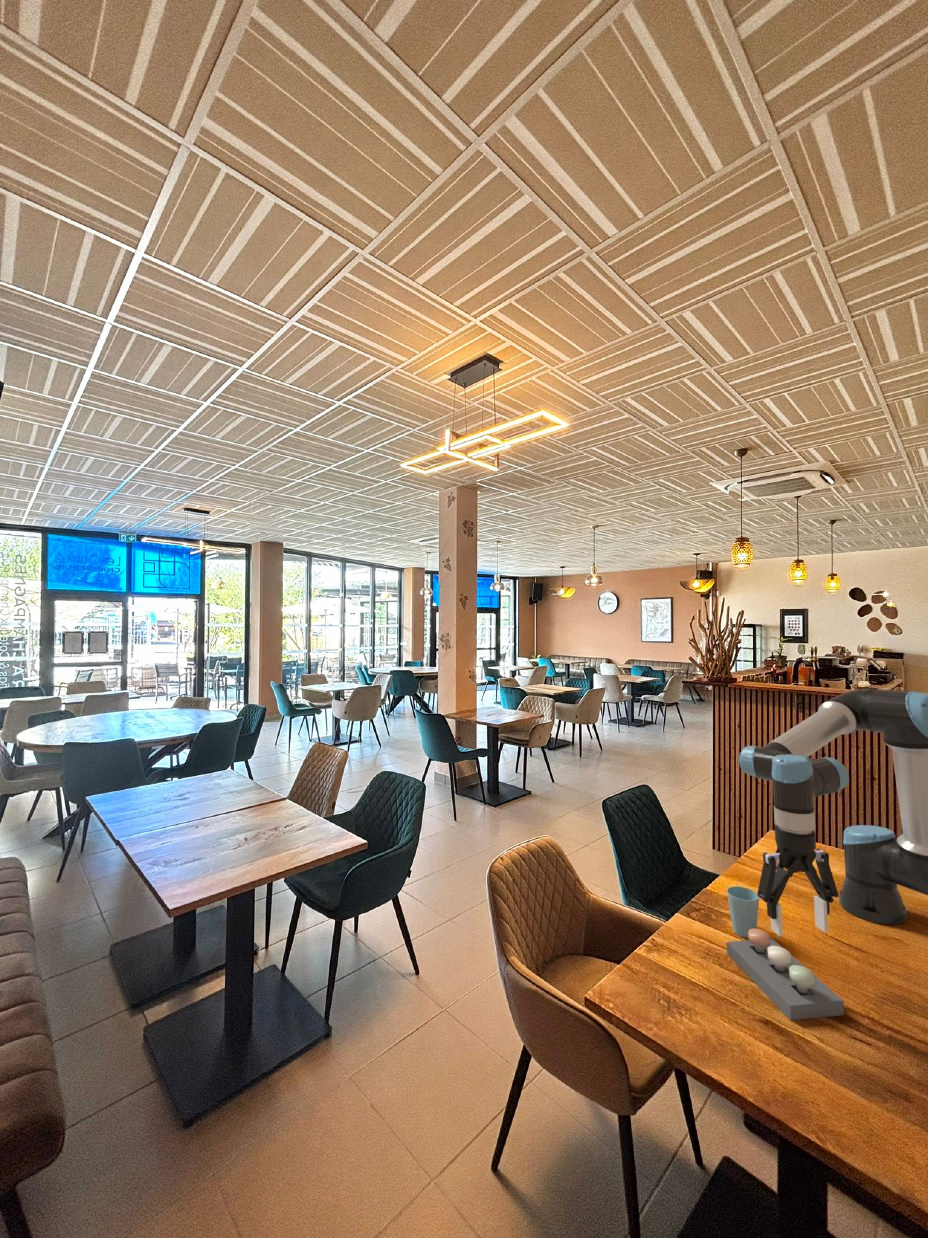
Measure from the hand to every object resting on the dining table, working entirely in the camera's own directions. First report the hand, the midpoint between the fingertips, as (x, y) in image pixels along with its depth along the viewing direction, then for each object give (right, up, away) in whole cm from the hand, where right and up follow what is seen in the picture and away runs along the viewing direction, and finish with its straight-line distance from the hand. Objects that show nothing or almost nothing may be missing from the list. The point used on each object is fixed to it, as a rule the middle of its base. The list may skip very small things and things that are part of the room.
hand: (799, 930), depth 111 cm
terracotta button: (-1, -13, +14) cm, 19 cm away
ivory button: (0, -13, +7) cm, 14 cm away
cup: (+2, -17, +26) cm, 31 cm away
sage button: (0, -13, 0) cm, 13 cm away
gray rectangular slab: (0, -16, +7) cm, 17 cm away
